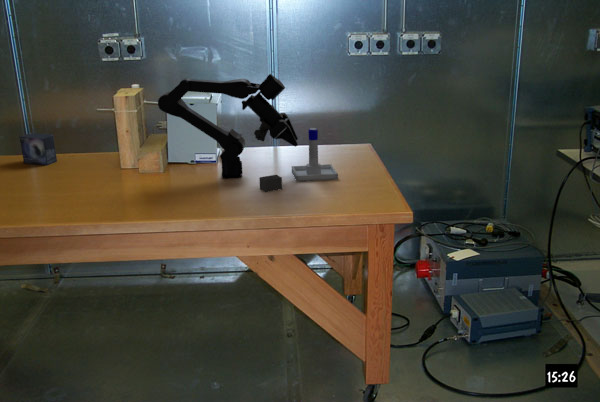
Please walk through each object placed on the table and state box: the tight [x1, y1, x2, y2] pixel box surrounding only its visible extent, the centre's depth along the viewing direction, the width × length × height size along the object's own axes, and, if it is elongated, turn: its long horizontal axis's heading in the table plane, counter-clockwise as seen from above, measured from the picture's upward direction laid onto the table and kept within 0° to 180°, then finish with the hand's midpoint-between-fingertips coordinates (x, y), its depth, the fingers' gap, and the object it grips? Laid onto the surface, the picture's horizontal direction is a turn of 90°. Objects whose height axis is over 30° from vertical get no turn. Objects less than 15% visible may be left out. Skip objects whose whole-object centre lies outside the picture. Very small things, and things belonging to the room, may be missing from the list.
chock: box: [259, 174, 283, 193], centre depth 199 cm, size 6×4×4 cm, turn 118°
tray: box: [291, 163, 339, 182], centre depth 213 cm, size 14×12×2 cm
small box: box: [19, 132, 58, 166], centre depth 232 cm, size 11×6×10 cm, turn 73°
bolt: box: [305, 127, 322, 175], centre depth 211 cm, size 16×5×5 cm
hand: (296, 142), depth 210 cm, fingers open, 9 cm apart
